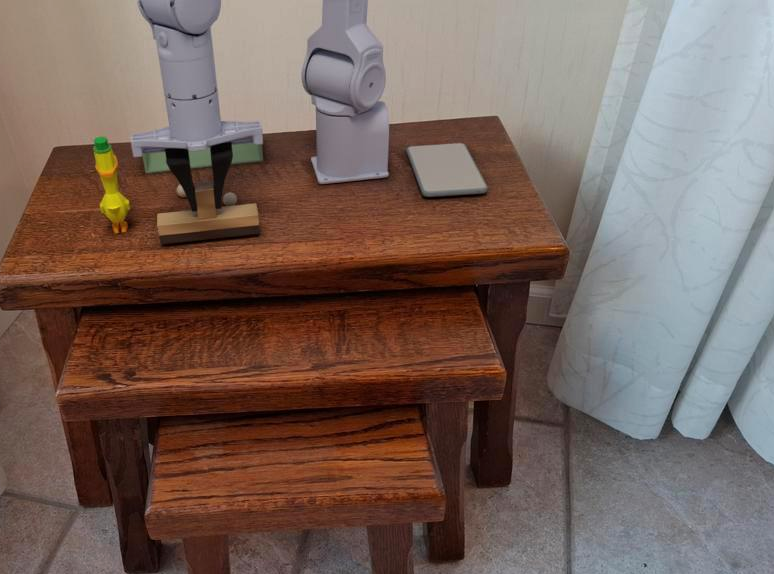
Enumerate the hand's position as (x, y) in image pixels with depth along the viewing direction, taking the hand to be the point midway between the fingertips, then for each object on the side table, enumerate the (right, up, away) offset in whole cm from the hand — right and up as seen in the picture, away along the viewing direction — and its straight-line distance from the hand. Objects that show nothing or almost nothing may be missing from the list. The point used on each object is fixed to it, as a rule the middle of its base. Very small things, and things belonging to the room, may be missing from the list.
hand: (206, 206), depth 91 cm
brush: (0, -3, +2) cm, 4 cm away
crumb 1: (-4, +5, +11) cm, 13 cm away
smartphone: (+31, +7, +12) cm, 34 cm away
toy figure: (-11, -1, +6) cm, 13 cm away
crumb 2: (+2, +3, +8) cm, 9 cm away
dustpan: (-2, +13, +22) cm, 25 cm away
